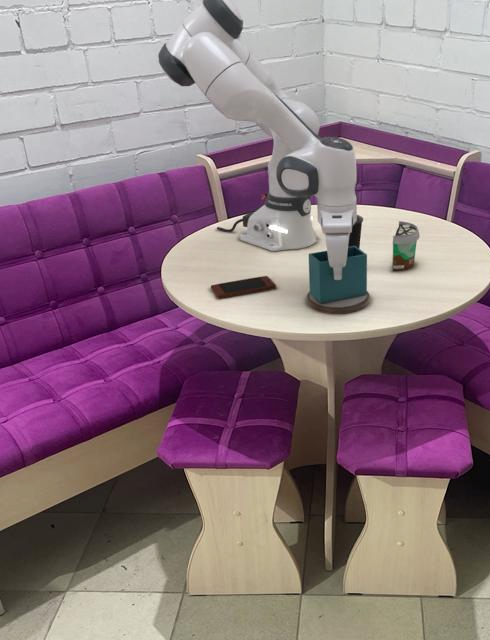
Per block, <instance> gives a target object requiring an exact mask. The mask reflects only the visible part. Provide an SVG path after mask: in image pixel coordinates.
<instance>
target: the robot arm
mask: <svg viewBox="0 0 490 640" xmlns="http://www.w3.org/2000/svg"><path fill="white" fill-rule="evenodd" d="M243 29H244V20H243V18H242V15H241V13H240V11H239V9H238V7H237V5H235V4H234V2H232V1H231V0H202V3H200V4H199V5H198V6H196V7H195V8H194V9H193V10H192V11H191V12H190V13H189V14H188V15H187V16H186V17H185V18H184V19H183V20H182V22H181V24H180V25H179V26H178V27H177V29H175V31H174V32H173V33H172V35H171V36H170V37H169V39H168V41H167V42H166V43H163V45H162V47H161V48H160V50H159V52H158V56H157V57H158V64H159V66H160V67H161V69H162V71H163V72H164V74H165V76H167V78H168V79H169V80H171V81H172V82H173V83H175V84H177V85H179V86H180V87H191V86H193V85H195V84H196V86H197V87H198V89H199V90H200V91H201V92H202V94H203V95H204V96H205V98H206V99H207V100H208V101H209V102H210V104H211V105H212V106H213V107H214V108H215V109H216V110H217V111H218V112H219V113H220V114H222V115H223V116H224V117H226V118H227V119H230V120H233V121H236V122H237V121H240V122H251V123H255V124H256V125H257V126H258V127H259V128H260V129H261V131H263V133H264V134H266V135H267V136H269V137H271V138H272V139H273V147H272V154H271V158H270V159H269V162H268V163H267V174H268V191H266V192H265V193H264V194H262V195H261V197H262V198H261V200H264V199H265V201H264V204H263V205H261V207H259V208H258V209H257V210H255V211H250V212H248V213H246V214H245V215H243V216H242V218H240V219H238V220H236V221H235V222H234V223H233V225H232V227H231V228H230V229H228V228H227V229H226V228H224V227H220V226H217V227H216V230H218V231H221V232H225V233H232V232H234V231H235V229H236V227H237V226H238V224H240V223H242V227H244V228H246V230H244V231H242V232H241V233H240V235H239V240H240V241H242V242H245V243H248V244H251V245H254V246H257V247H259V248H262V249H266V250H268V251H271V252H278V251H285V250H298V249H303V248H307V247H311V246H313V245H314V244H315V243H317V237H316V234H315V230H314V226H313V221H312V220H313V216H312V214H311V211H312V197H315V198H316V203H317V204H316V207H317V208H316V209H317V210H316V211H317V213H316V214H317V222H318V224H319V225H320V226H321V231H322V233H323V234H324V237H325V238H324V239H325V245H326V251H327V254H328V261H329V265H330V267H333V270H334V279H335V280H341V279H342V267H345V266H346V261H347V253H348V243H349V235H350V233H351V232H352V227H353V225H354V223H355V222H356V221H357V215H358V214H357V213H358V210H357V209H358V208H357V207H358V204H357V202H358V201H357V199H358V198H357V195H356V186H357V179H358V178H357V177H358V175H357V173H358V172H357V159H356V153H355V149H354V147H353V144H351V142H350V141H348V140H347V139H344V138H341V137H336V136H326V137H321V136H319V134H320V133H319V132H320V125H321V124H320V119H319V117H318V115H317V114H316V112H315V111H313V109H312V108H311V107H310V106H309V105H308V104H306V103H304V102H302V101H299V100H296V99H294V98H292V97H290V96H289V95H288V94H286V93H285V91H283V90H282V89H281V87H280V86H279V84H278V83H277V82H276V80H275V79H274V77H273V75H272V72H271V71H270V70H269V69H268V68H267V67H266V66H265V65H264V64H263V63H262V62H261V61H260V60H259V59H258V57H257V56H255V55H254V53H253V52H252V51H251V50H250V49H249V48H248V47H247V46H246V45H245V44H244V43H243V42H242V41H241V40H239V38H240V35H241V34H242V32H243V31H244V30H243Z"/></svg>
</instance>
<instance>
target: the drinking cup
mask: <svg viewBox="0 0 490 640" xmlns="http://www.w3.org/2000/svg"><path fill="white" fill-rule="evenodd" d="M363 222H364V217H362V216H361V215H360V214H357V221H356V222H355V223H354V225H353V227H352V232H351V233H350V235H349V243H348V247H351V246H356V247H357V248H359V249H360V248H361V238H362V237H361V235H362V226H363Z"/></svg>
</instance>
